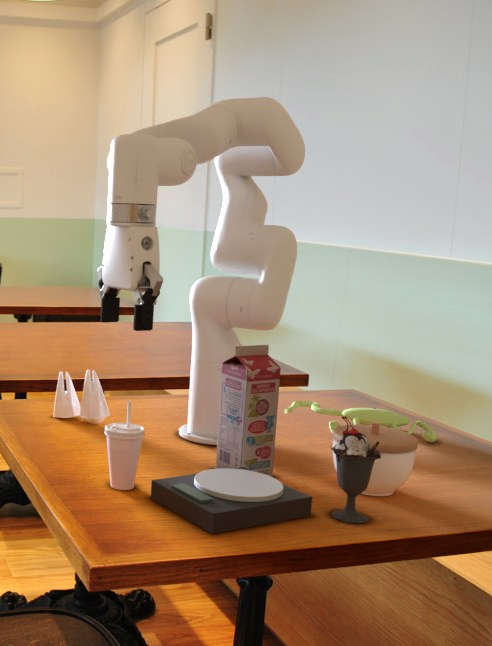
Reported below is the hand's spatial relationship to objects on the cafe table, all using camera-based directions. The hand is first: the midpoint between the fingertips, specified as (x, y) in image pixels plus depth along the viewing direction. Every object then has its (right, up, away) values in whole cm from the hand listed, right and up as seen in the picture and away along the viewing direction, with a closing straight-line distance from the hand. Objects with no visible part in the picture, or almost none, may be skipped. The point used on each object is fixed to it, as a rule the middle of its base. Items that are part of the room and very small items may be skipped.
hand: (125, 326), depth 131 cm
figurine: (+51, -21, +36) cm, 66 cm away
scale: (+15, -27, -6) cm, 32 cm away
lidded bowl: (+40, -27, +3) cm, 48 cm away
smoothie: (0, -26, +2) cm, 26 cm away
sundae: (+32, -29, -9) cm, 44 cm away
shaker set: (-4, -19, +42) cm, 46 cm away
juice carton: (+21, -25, +10) cm, 34 cm away
